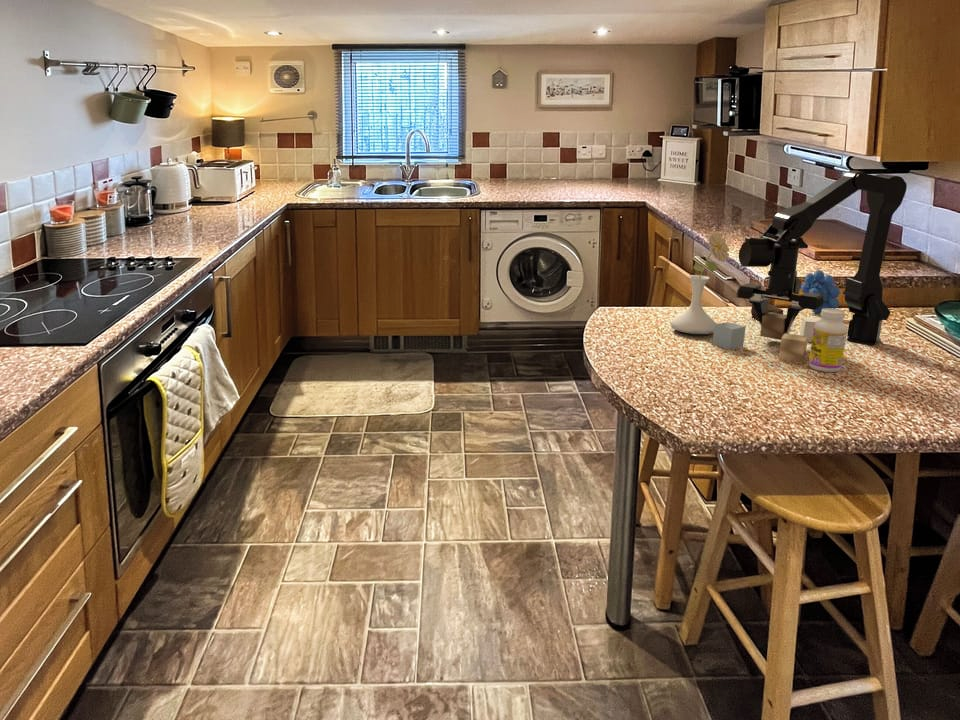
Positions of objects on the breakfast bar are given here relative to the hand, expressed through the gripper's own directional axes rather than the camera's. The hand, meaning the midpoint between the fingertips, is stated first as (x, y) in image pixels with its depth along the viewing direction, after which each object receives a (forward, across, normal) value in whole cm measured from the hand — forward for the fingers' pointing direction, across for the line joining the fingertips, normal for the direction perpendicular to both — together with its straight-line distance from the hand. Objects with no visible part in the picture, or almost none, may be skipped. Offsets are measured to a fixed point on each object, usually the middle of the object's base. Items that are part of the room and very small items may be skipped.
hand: (774, 331), depth 209 cm
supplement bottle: (+3, -16, +14) cm, 21 cm away
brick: (+3, +9, -20) cm, 22 cm away
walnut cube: (+1, 0, 0) cm, 1 cm away
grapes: (+3, +2, -39) cm, 39 cm away
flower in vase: (+3, +18, +4) cm, 19 cm away
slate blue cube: (+3, +7, +11) cm, 13 cm away
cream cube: (+3, -6, -10) cm, 12 cm away
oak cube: (+3, -8, +11) cm, 14 cm away
